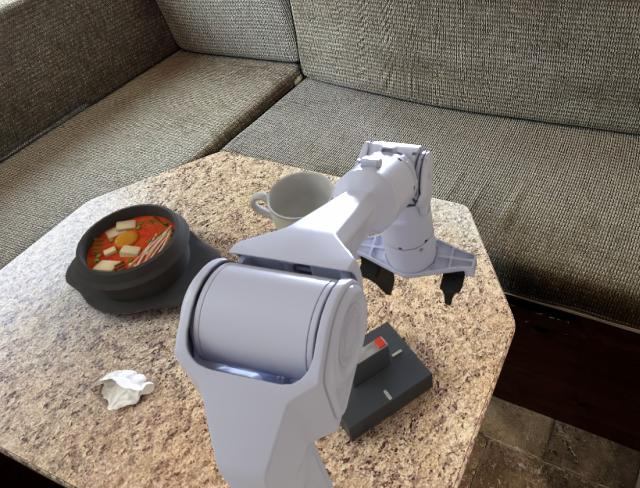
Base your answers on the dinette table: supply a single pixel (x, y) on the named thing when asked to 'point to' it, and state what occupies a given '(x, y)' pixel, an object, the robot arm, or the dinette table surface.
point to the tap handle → (372, 360)
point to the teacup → (293, 197)
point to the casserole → (138, 260)
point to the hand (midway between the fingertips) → (419, 293)
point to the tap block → (385, 385)
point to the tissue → (123, 388)
